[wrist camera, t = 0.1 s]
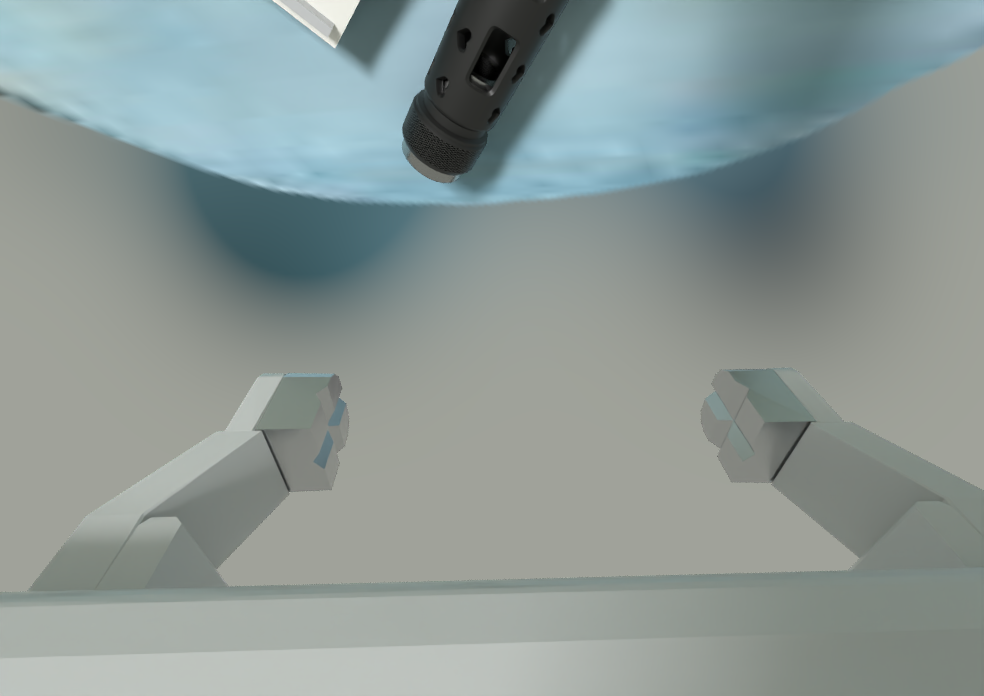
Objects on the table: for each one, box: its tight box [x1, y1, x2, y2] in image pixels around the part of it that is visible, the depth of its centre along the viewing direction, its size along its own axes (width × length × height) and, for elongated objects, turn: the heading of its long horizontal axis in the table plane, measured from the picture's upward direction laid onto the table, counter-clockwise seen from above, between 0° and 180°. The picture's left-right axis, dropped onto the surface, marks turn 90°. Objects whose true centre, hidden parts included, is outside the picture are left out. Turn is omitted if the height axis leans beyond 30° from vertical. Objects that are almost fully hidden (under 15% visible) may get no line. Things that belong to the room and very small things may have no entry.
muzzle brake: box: [402, 0, 569, 183], centre depth 46 cm, size 10×28×10 cm, turn 150°
